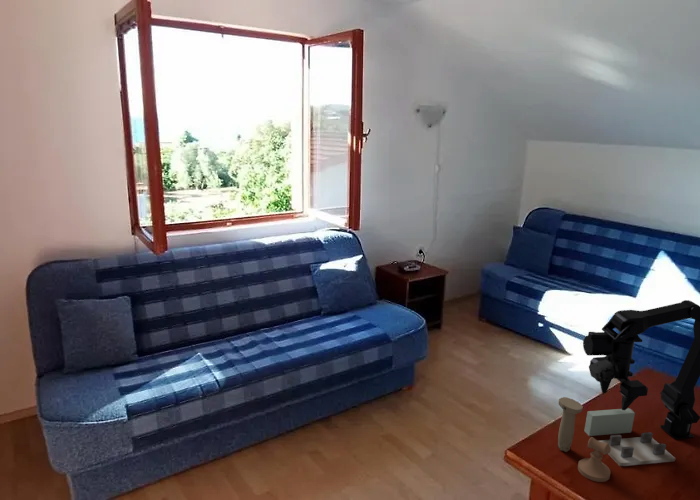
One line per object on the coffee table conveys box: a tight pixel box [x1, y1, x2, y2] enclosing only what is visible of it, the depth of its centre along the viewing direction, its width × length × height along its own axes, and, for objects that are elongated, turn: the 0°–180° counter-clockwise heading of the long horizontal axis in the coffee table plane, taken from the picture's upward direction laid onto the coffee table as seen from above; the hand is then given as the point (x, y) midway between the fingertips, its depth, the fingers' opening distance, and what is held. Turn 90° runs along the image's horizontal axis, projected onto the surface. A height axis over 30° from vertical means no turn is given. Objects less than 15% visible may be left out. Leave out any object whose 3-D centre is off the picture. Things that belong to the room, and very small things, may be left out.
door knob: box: [577, 436, 612, 483], centre depth 140 cm, size 8×10×8 cm
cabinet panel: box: [599, 431, 676, 467], centre depth 149 cm, size 17×10×4 cm, turn 99°
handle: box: [557, 396, 584, 453], centre depth 148 cm, size 5×6×15 cm
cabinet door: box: [584, 407, 636, 437], centre depth 158 cm, size 14×2×7 cm, turn 99°
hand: (613, 401), depth 155 cm, fingers open, 9 cm apart
